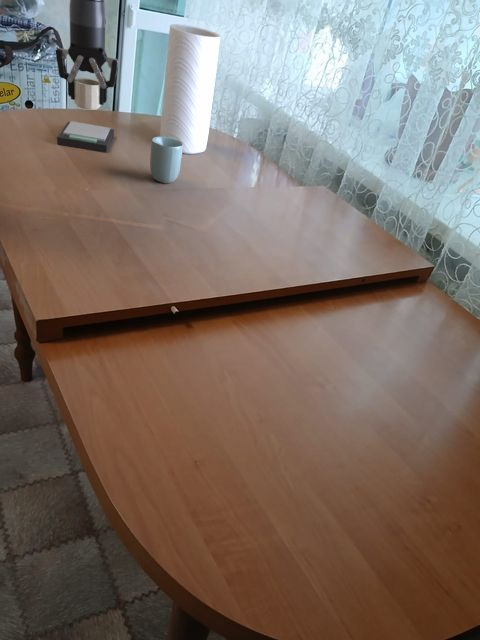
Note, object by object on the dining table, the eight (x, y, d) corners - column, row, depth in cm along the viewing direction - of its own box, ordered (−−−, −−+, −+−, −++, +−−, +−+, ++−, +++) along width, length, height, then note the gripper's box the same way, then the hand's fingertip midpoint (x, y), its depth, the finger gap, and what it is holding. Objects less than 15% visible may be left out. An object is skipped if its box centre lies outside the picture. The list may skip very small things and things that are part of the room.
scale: (57, 144, 148) (57, 134, 146) (68, 128, 160) (68, 119, 158) (106, 152, 150) (106, 143, 149) (113, 136, 162) (114, 127, 160)
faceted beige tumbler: (72, 107, 128) (71, 82, 125) (77, 100, 133) (77, 76, 130) (98, 111, 129) (98, 87, 126) (102, 105, 134) (103, 81, 131)
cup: (170, 188, 139) (174, 149, 133) (143, 179, 140) (146, 140, 134) (183, 180, 145) (188, 142, 139) (157, 172, 146) (160, 134, 140)
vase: (215, 152, 169) (232, 38, 150) (181, 157, 159) (194, 36, 140) (184, 136, 175) (196, 25, 156) (149, 140, 165) (157, 22, 147)
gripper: (49, 17, 116) (52, 99, 126) (118, 30, 119) (116, 111, 129) (57, 12, 122) (60, 92, 132) (123, 26, 125) (120, 103, 134)
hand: (87, 101), depth 130 cm, fingers closed on faceted beige tumbler, 6 cm apart
